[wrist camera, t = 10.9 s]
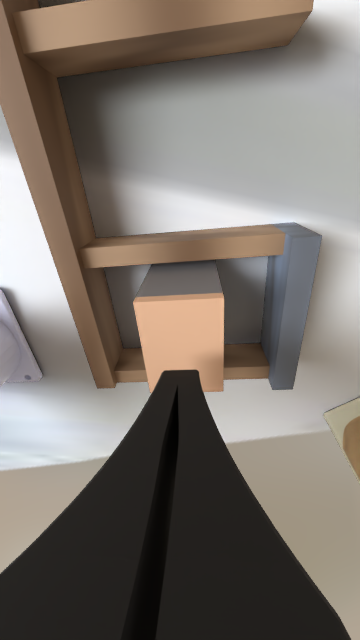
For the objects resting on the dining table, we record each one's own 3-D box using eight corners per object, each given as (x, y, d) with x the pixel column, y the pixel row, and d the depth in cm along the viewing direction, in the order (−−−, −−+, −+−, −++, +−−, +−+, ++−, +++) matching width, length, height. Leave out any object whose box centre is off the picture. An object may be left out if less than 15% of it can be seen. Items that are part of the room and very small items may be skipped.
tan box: (163, 328, 18) (150, 393, 12) (154, 259, 15) (133, 302, 10) (214, 326, 17) (223, 391, 12) (213, 255, 15) (224, 298, 10)
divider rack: (110, 359, 19) (94, 394, 16) (-94, -362, 7) (-325, -790, 4) (276, 353, 18) (292, 389, 15) (391, -514, 6) (611, -1284, 3)
